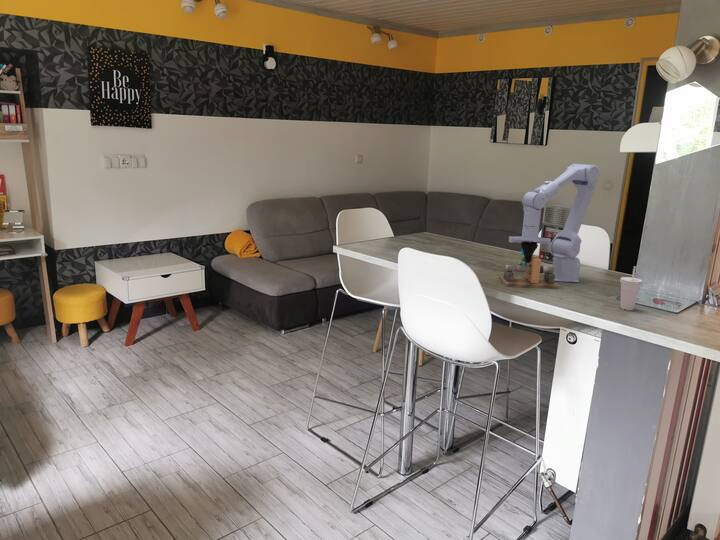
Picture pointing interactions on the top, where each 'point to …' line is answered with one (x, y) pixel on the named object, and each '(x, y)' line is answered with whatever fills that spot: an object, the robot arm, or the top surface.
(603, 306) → the top surface
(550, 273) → the pipe rig
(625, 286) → the smoothie
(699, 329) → the top surface
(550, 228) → the grey boxy piece
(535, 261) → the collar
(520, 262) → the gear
